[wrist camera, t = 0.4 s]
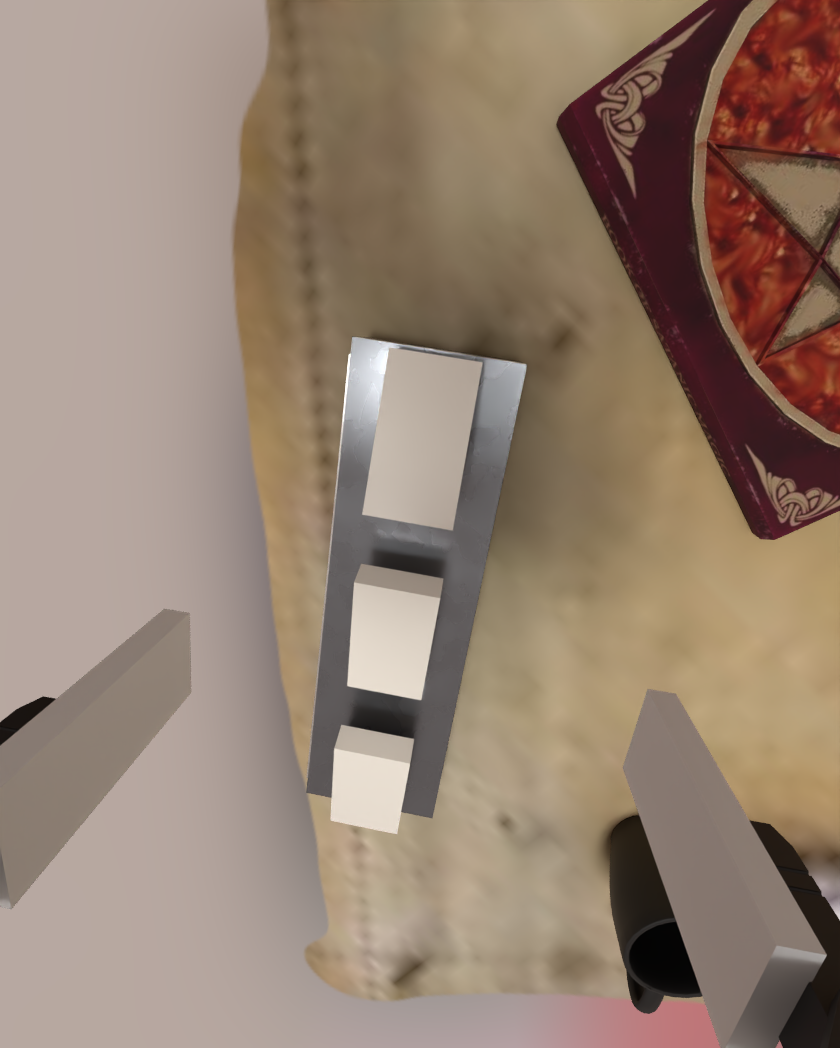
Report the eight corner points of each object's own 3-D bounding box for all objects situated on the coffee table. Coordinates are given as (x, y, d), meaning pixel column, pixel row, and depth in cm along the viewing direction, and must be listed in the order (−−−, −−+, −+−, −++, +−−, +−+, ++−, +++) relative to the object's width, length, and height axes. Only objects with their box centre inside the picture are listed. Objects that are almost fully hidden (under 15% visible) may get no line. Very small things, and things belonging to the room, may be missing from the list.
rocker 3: (344, 708, 37) (332, 748, 34) (418, 722, 36) (411, 763, 34) (340, 780, 42) (329, 820, 39) (404, 793, 41) (398, 834, 39)
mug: (567, 888, 48) (588, 1011, 40) (614, 791, 44) (649, 904, 35) (654, 912, 48) (695, 1042, 39) (709, 817, 44) (768, 937, 35)
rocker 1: (393, 360, 31) (387, 347, 28) (481, 374, 31) (484, 362, 28) (369, 510, 32) (360, 514, 29) (454, 525, 32) (454, 530, 29)
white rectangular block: (364, 550, 33) (352, 582, 30) (447, 565, 33) (442, 598, 30) (356, 651, 38) (345, 685, 35) (428, 665, 37) (422, 700, 35)
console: (366, 337, 35) (348, 336, 30) (520, 361, 34) (527, 364, 30) (321, 749, 46) (303, 794, 41) (436, 771, 46) (431, 821, 41)
